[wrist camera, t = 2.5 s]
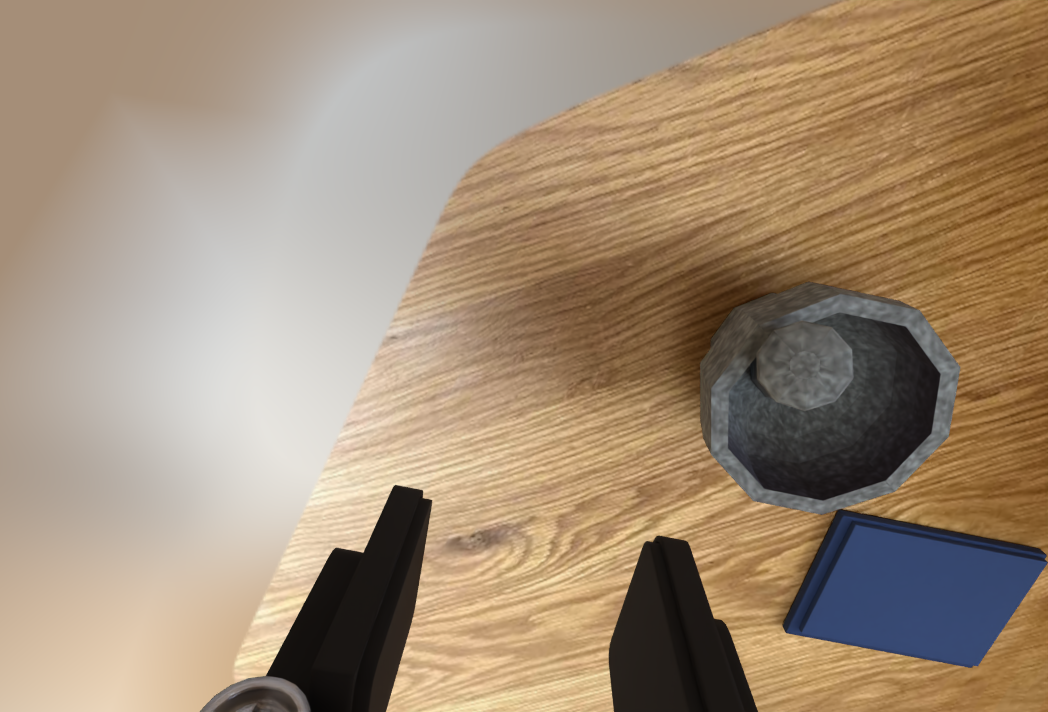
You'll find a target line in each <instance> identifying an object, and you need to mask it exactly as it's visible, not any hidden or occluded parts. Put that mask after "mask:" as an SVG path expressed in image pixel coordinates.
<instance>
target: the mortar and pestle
mask: <svg viewBox="0 0 1048 712" xmlns="http://www.w3.org/2000/svg"><path fill="white" fill-rule="evenodd" d="M959 372H960V366H959V365H958V363H957V362H956V361H955V359H954V358H953V356H952V355H951V354H950V352H949V351H948V349H947V348H946V347H945V345H944V344H943V342H942V341H941V340H940V338H939V337H938V335H937V334H936V333H935V331H934V330H933V328H932V327H931V326H930V324H929V323H928V321H927V320H926V319H925V317H924V316H923V314H922V313H921V312H920V310H918V309H915V308H913V307H911V306H909V305H907V304H905V303H903V302H901V301H898V300H893V299H888V298H884V297H879V296H874V295H869V294H865V293H860V292H855V291H851V290H846V289H841V288H836V287H832V286H827V285H822V284H817V283H812V282H806V283H804V284H801V285H799V286H796V287H794V288H791V289H789V290H786V291H784V292H781V293H779V294H776V293H770V294H768V295H765V296H763V297H760V298H758V299H755V300H753V301H750V302H748V303H745V304H743V305H740V306H738V307H735V308H734V309H733V310H732V311H731V313H730V314H729V315H728V317H727V318H726V319H725V321H724V322H723V323H722V325H721V326H720V327H719V329H718V330H717V332H716V333H715V334H714V336H713V337H712V338H711V349H710V350H709V351H708V353H707V354H706V355H705V357H704V358H703V360H702V361H701V362H700V421H701V427H702V433H703V439H704V441H705V443H706V445H707V447H708V449H709V451H710V453H711V455H712V456H713V457H714V458H715V459H716V460H717V461H718V462H719V464H720V465H721V466H722V467H723V468H724V469H725V470H726V471H727V472H728V473H729V475H730V476H731V477H732V478H733V479H734V480H735V481H736V482H737V483H738V484H739V485H740V487H741V488H742V489H743V490H744V491H745V492H746V493H747V494H748V495H749V496H750V498H751V499H752V500H753V501H756V502H761V503H766V504H771V505H776V506H781V507H786V508H791V509H796V510H801V511H806V512H811V513H816V514H821V515H822V514H826V513H829V512H832V511H835V510H838V509H841V508H845V507H848V506H851V505H854V504H857V503H860V502H863V501H867V500H870V499H873V498H876V497H879V496H882V495H886V494H889V493H892V492H895V491H896V490H897V489H898V488H899V487H900V486H901V485H902V484H903V483H904V482H905V481H906V480H907V479H908V478H909V477H910V476H911V475H912V474H913V473H914V472H915V471H916V470H917V468H918V467H919V466H920V465H921V464H922V463H923V462H924V461H925V460H926V459H927V458H928V457H929V456H930V455H931V454H932V453H933V452H934V451H935V450H936V449H937V448H938V447H939V446H940V445H941V444H942V443H943V442H944V441H945V440H946V439H947V438H948V437H949V431H950V425H951V419H952V413H953V407H954V402H955V396H956V390H957V384H958V378H959Z"/></svg>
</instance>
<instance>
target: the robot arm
mask: <svg viewBox="0 0 1048 712" xmlns="http://www.w3.org/2000/svg"><path fill="white" fill-rule="evenodd" d="M431 506H432V500H429V499H424V498H423V490H419V489H413V488H408V487H403V486H398V485H395V486H394V487H393V489H392V491H391V493H390V495H389V497H388V500H387V502H386V504H385V506H384V509H383V511H382V513H381V515H380V517H379V520H378V522H377V524H376V526H375V528H374V531H373V533H372V535H371V537H370V540H369V542H368V544H367V546H366V548H365V551H364V553H362V552H357V551H351V550H346V549H341V548H335V549H334V550H333V551H332V553H331V554H330V556H329V558H328V559H327V561H326V563H325V565H324V567H323V569H322V571H321V573H320V575H319V576H318V578H317V580H316V582H315V584H314V586H313V588H312V590H311V592H310V594H309V595H308V597H307V599H306V601H305V603H304V605H303V607H302V609H301V611H300V612H299V614H298V616H297V618H296V620H295V622H294V624H293V626H292V628H291V629H290V631H289V633H288V635H287V637H286V639H285V641H284V643H283V645H282V646H281V648H280V650H279V652H278V654H277V656H276V658H275V660H274V662H273V664H272V665H271V667H270V669H269V671H268V673H267V675H266V676H263V677H255V678H248V679H246V680H243V681H240V682H238V683H235V684H233V685H230V686H229V687H227V688H226V689H224V690H223V691H221V692H220V693H218V694H217V695H215V696H214V697H213V698H212V699H211V700H210V701H209V702H208V703H207V704H206V705H205V706H204V707H203V709H202V710H201V711H200V712H386V709H387V706H388V703H389V699H390V696H391V692H392V689H393V685H394V682H395V678H396V675H397V671H398V668H399V664H400V661H401V657H402V654H403V650H404V647H405V644H406V640H407V637H408V633H409V630H410V626H411V622H412V618H413V614H414V610H415V604H416V598H417V592H418V586H419V580H420V574H421V568H422V561H423V555H424V549H425V543H426V537H427V531H428V525H429V518H430V512H431ZM609 669H610V678H611V687H612V697H613V706H614V712H758V711H757V708H756V705H755V702H754V699H753V696H752V694H751V691H750V688H749V685H748V682H747V680H746V677H745V674H744V671H743V668H742V666H741V663H740V660H739V657H738V654H737V652H736V649H735V646H734V643H733V640H732V637H731V635H730V632H729V630H728V628H727V626H726V624H725V623H724V622H723V621H722V620H718V619H714V618H713V615H712V612H711V609H710V606H709V603H708V600H707V597H706V594H705V591H704V588H703V585H702V582H701V579H700V576H699V573H698V570H697V567H696V564H695V561H694V558H693V555H692V552H691V549H690V546H689V544H688V542H687V541H684V540H679V539H674V538H669V537H664V536H656V538H655V539H654V541H653V542H649V541H646V542H645V543H644V545H643V548H642V551H641V554H640V557H639V560H638V562H637V565H636V568H635V571H634V574H633V577H632V580H631V583H630V586H629V589H628V592H627V595H626V598H625V601H624V604H623V607H622V610H621V613H620V615H619V618H618V621H617V624H616V627H615V630H614V633H613V636H612V639H611V642H610V648H609Z"/></svg>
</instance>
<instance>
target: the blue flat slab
mask: <svg viewBox="0 0 1048 712" xmlns="http://www.w3.org/2000/svg"><path fill="white" fill-rule="evenodd" d="M1046 556H1047V555H1046V554H1045V553H1044V552H1043V551H1041V550H1040V549H1038V548H1033V547H1028V546H1023V545H1018V544H1013V543H1008V542H1002V541H997V540H992V539H987V538H982V537H977V536H972V535H967V534H961V533H956V532H951V531H946V530H941V529H936V528H931V527H925V526H920V525H915V524H910V523H905V522H900V521H895V520H890V519H884V518H879V517H874V516H869V515H864V514H859V513H854V512H849V511H843V510H838V512H837V514H836V516H835V518H834V520H833V522H832V524H831V527H830V529H829V531H828V533H827V535H826V537H825V539H824V541H823V543H822V545H821V547H820V549H819V551H818V553H817V555H816V557H815V560H814V562H813V564H812V566H811V568H810V570H809V572H808V574H807V576H806V578H805V580H804V582H803V584H802V586H801V588H800V591H799V593H798V595H797V597H796V599H795V601H794V603H793V605H792V607H791V609H790V611H789V613H788V615H787V617H786V619H785V621H784V624H783V628H784V630H785V632H786V633H789V634H794V635H799V636H805V637H810V638H815V639H821V640H826V641H831V642H836V643H842V644H847V645H852V646H858V647H863V648H868V649H874V650H879V651H884V652H890V653H895V654H900V655H905V656H911V657H916V658H921V659H927V660H932V661H937V662H943V663H948V664H953V665H959V666H964V667H969V668H972V666H978V665H979V663H980V662H981V661H982V659H983V658H984V656H985V655H986V653H987V652H988V650H989V649H990V647H991V646H992V644H993V643H994V641H995V640H996V638H997V637H998V635H999V634H1000V632H1001V631H1002V630H1003V628H1004V627H1005V625H1006V624H1007V622H1008V621H1009V619H1010V618H1011V616H1012V615H1013V613H1014V612H1015V610H1016V609H1017V607H1018V606H1019V604H1020V603H1021V601H1022V600H1023V598H1024V597H1025V596H1026V594H1027V593H1028V591H1029V590H1030V588H1031V587H1032V585H1033V584H1034V582H1035V581H1036V579H1037V578H1038V576H1039V575H1040V573H1041V572H1042V570H1043V569H1044V567H1045V566H1046V565H1047V563H1048V562H1047V561H1046V560H1045V558H1046Z"/></svg>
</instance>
